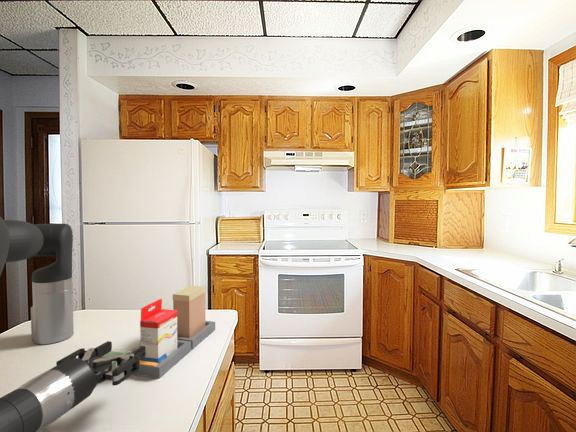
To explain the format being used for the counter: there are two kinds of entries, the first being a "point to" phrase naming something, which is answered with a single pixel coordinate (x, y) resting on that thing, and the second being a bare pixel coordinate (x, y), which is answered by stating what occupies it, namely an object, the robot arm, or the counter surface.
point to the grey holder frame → (175, 353)
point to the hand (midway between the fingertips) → (126, 347)
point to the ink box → (158, 332)
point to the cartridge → (190, 310)
